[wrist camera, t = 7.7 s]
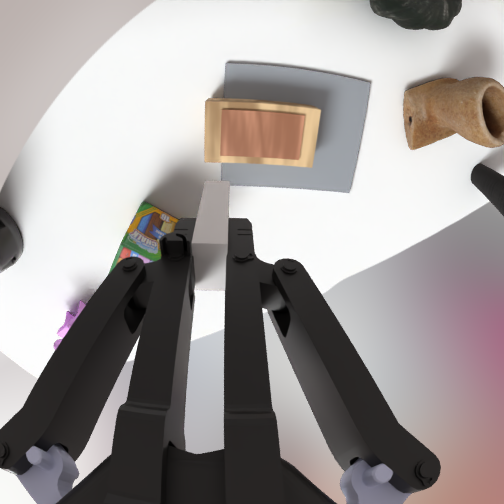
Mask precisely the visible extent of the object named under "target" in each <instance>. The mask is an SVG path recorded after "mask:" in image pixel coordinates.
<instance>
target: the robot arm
mask: <svg viewBox="0 0 504 504" xmlns="http://www.w3.org/2000/svg"><path fill="white" fill-rule="evenodd" d="M229 187H230V181H205V184H204V188H203V192H202V196H201V201H200V205H199V210H198V214H197V218H181V219H180V220H179V221H178V222H177V223H176V225H175V228H174V231H173V232H171V233H168V234H165V235H164V236H162V237H161V238H160V240H159V244H160V250H161V259H159V260H157V261H154V262H149V263H144V261H143V260H142V259H141V258H139V257H134V256H131V257H126V258H124V259H122V260H121V261H119V262H118V263H117V265H116V266H115V267H114V268H113V270H112V271H111V272H110V273H109V275H108V276H107V277H106V279H105V280H104V281H103V283H102V284H101V285H100V287H99V288H98V289H97V291H96V292H95V293H94V295H93V296H92V297H91V299H90V300H89V301H88V303H87V304H86V306H85V307H84V308H83V310H82V311H81V313H80V314H79V316H78V317H77V318H76V320H75V321H74V323H73V324H72V326H71V327H70V329H69V330H68V332H67V333H66V335H65V336H64V338H63V339H62V341H61V342H60V344H59V345H58V347H57V349H56V350H55V352H54V353H53V355H52V357H51V358H50V360H49V361H48V363H47V365H46V366H45V368H44V370H43V372H42V373H41V375H40V377H39V378H38V380H37V382H36V384H35V385H34V387H33V389H32V391H31V393H30V395H29V396H28V398H27V400H26V402H25V404H24V406H23V408H22V409H21V410H20V411H19V412H18V413H17V414H15V415H14V416H13V417H12V419H10V420H9V422H7V423H6V424H5V425H4V426H3V427H2V428H1V429H0V468H2V469H4V470H6V471H8V472H10V473H13V474H15V475H16V476H17V477H18V479H19V480H20V482H21V483H22V484H23V486H24V487H25V489H26V490H27V491H28V493H29V494H30V495H31V497H32V498H33V499H34V501H35V502H36V503H37V504H337V503H335V502H334V501H333V500H332V499H330V498H329V497H328V496H327V495H326V494H324V493H323V492H322V491H321V490H320V489H319V488H317V487H316V486H315V485H314V484H313V483H312V482H311V481H310V480H308V479H307V478H306V477H305V476H304V475H303V474H302V473H301V472H300V471H298V470H297V469H296V468H295V467H294V466H293V465H291V464H290V463H289V462H287V461H285V460H284V459H282V458H281V457H280V448H279V438H278V429H277V420H276V416H275V412H274V411H273V409H272V402H271V392H270V382H269V372H268V362H267V352H266V342H265V332H264V322H263V312H262V308H265V309H267V310H268V314H269V316H270V318H271V321H272V323H273V325H274V327H275V329H276V332H277V334H278V336H279V338H280V341H281V343H282V345H283V347H284V350H285V352H286V354H287V356H288V359H289V361H290V363H291V365H292V368H293V370H294V372H295V374H296V376H297V379H298V381H299V383H300V385H301V388H302V390H303V392H304V394H305V396H306V399H307V401H308V403H309V405H310V407H311V410H312V412H313V414H314V416H315V418H316V421H317V423H318V425H319V427H320V429H321V432H322V434H323V436H324V438H325V440H326V442H327V444H328V447H329V449H330V451H331V452H332V454H333V456H334V458H335V460H336V461H337V462H338V463H339V465H340V466H341V468H342V469H343V470H344V471H345V472H344V474H343V475H342V478H341V480H340V487H341V490H342V492H343V493H344V495H345V497H346V501H347V504H403V502H404V501H405V500H406V498H408V496H409V495H410V494H412V493H414V492H418V491H421V490H424V489H427V488H429V487H431V486H432V485H433V484H434V483H435V482H436V481H437V479H438V477H439V474H440V469H441V466H440V462H439V460H438V458H437V457H436V455H434V454H433V453H432V452H431V451H430V450H429V449H428V448H426V447H425V446H424V445H423V444H422V443H420V441H418V440H417V439H416V438H415V437H414V436H413V435H411V434H410V433H409V432H408V431H406V429H405V428H403V427H402V426H401V425H400V424H399V423H398V421H397V420H396V418H395V416H394V415H393V413H392V411H391V409H390V407H389V405H388V404H387V402H386V400H385V399H384V397H383V395H382V394H381V391H380V390H379V388H378V387H377V385H376V383H375V381H374V379H373V378H372V376H371V374H370V373H369V371H368V369H367V368H366V366H365V364H364V363H363V361H362V359H361V358H360V356H359V354H358V353H357V351H356V349H355V348H354V346H353V344H352V343H351V341H350V339H349V338H348V336H347V334H346V333H345V331H344V330H343V328H342V326H341V325H340V323H339V322H338V320H337V318H336V317H335V315H334V313H333V312H332V310H331V309H330V307H329V306H328V304H327V303H326V301H325V299H324V298H323V296H322V294H321V293H320V291H319V290H318V288H317V287H316V285H315V283H314V282H313V280H312V279H311V277H310V276H309V274H308V273H307V271H306V270H305V268H304V266H303V265H302V264H301V263H300V262H298V261H296V260H293V259H281V260H278V261H277V262H275V264H274V265H273V264H269V263H265V262H263V261H261V260H260V259H258V258H257V257H256V254H255V252H254V243H253V233H252V224H251V222H250V221H249V220H248V219H247V218H229ZM22 252H23V242H22V238H21V235H20V232H19V230H18V228H17V226H16V224H15V222H14V221H13V219H12V218H11V217H10V216H9V214H8V213H7V212H6V211H4V210H3V209H2V208H0V273H1V272H3V271H4V270H6V269H7V268H9V267H10V266H12V265H14V264H15V263H16V262H17V260H18V259H19V258H20V256H21V255H22ZM194 288H195V289H196V290H210V291H225V332H224V333H225V334H224V339H225V340H224V449H222V450H218V451H213V452H208V453H202V454H193V453H190V452H187V451H185V436H184V419H185V402H186V388H187V374H188V362H189V351H190V340H191V330H192V321H193V311H194V303H195V294H194ZM139 336H140V338H139V342H138V346H137V351H136V356H135V361H134V365H133V370H132V375H131V380H130V386H129V392H128V397H127V401H126V402H125V403H124V404H123V405H121V406H120V408H119V410H118V414H117V418H116V425H115V431H114V439H113V446H112V454H111V455H110V456H109V457H107V458H106V459H105V460H104V461H103V462H102V463H101V464H100V465H99V466H98V467H97V468H95V469H94V470H93V471H92V472H91V473H90V474H89V475H88V476H87V477H85V478H84V479H83V480H82V481H81V482H80V483H79V484H78V485H76V486H75V487H74V488H73V489H72V485H73V482H74V480H75V479H77V478H78V476H79V471H78V469H77V467H76V464H75V461H76V460H77V458H78V457H79V456H80V454H81V453H82V451H83V450H84V448H85V447H86V445H87V442H88V441H89V438H90V436H91V434H92V432H93V430H94V427H95V425H96V423H97V421H98V418H99V416H100V414H101V412H102V410H103V408H104V405H105V403H106V401H107V399H108V397H109V395H110V393H111V391H112V389H113V387H114V384H115V382H116V380H117V378H118V376H119V374H120V372H121V370H122V368H123V366H124V364H125V362H126V360H127V359H128V357H129V355H130V353H131V351H132V349H133V347H134V345H135V343H136V341H137V339H138V337H139Z"/></svg>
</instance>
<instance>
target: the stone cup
mask: <svg viewBox="0 0 504 504" xmlns="http://www.w3.org/2000/svg"><path fill="white" fill-rule="evenodd" d="M403 106H404V108H403V111H404V114H403V116H404V126H405V132H406V138H407V142H408V146H409V148H410V149H411V150H415V149H418V148H421V147H423V146H426V145H429V144H431V143H434V142H436V141H438V140H441V139H444V138H446V137H449V136H451V135H453V134H455V133H458V134H459V135H461V136H462V137H464V138H465V139H467V140H469V141H471V142H474V143H476V144H479V145H482V146H485V147H490V148H494V147H499V146H501V145H503V144H504V87H503V86H502V85H501V84H500V83H499V82H497V81H496V80H494V79H492V78H485V77H472V78H468V79H464V80H462V81H458V80H457V79H453V78H442V79H437V80H434V81H431V82H428V83H425V84H422V85H420V86H417V87H414V88H411V89H409V90H407V91H405V93H404V103H403Z"/></svg>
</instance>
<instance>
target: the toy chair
mask: <svg viewBox="0 0 504 504" xmlns="http://www.w3.org/2000/svg"><path fill="white" fill-rule="evenodd" d="M85 306H86V304H85V303H83V302H82V301H80V303H79V309H78V313H77V314H76V316H75V317H74V316H73V315H71V314H70V313H69V312H68V311H67V313H66V320H65V323H64V325H63V326H62V327H61V328H60V329H59V330H58V333H57V334H58V335H59V336H60V337H62V338H64V336H65V335H66V333H67V332H68V330H69V329H70V327H71V326H72V324H73V323H74V321H75V320H76V318H77V317H78V316H79V314H80V313H81V311H82V310H83V308H84V307H85ZM61 341H62V339H59V340H57V341H56V342H55V343H54V349H55V350H56V349H57V347H58V345H59V344H60V342H61Z"/></svg>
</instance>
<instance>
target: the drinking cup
mask: <svg viewBox="0 0 504 504" xmlns="http://www.w3.org/2000/svg"><path fill="white" fill-rule="evenodd" d="M471 181H472V183H473V184H474V185H475V186H476V187H477V188H478V189H479V190H480V191H481V192H482V193H483V194H484V195H485V196H486V197H487V199H488V200H489V201H490V202H491V203H492V204H493V205H494V206H495V207H496V208H497V209H498V210H499V212H500V213H501V214H502V215H503V216H504V176H503V175H501V174H499V173H497V172H496V171H494V170H492V169H490V168H488V167H487V166H485V165H483V164H478V165H476V166H475V167H474V169H473V171H472V173H471Z"/></svg>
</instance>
